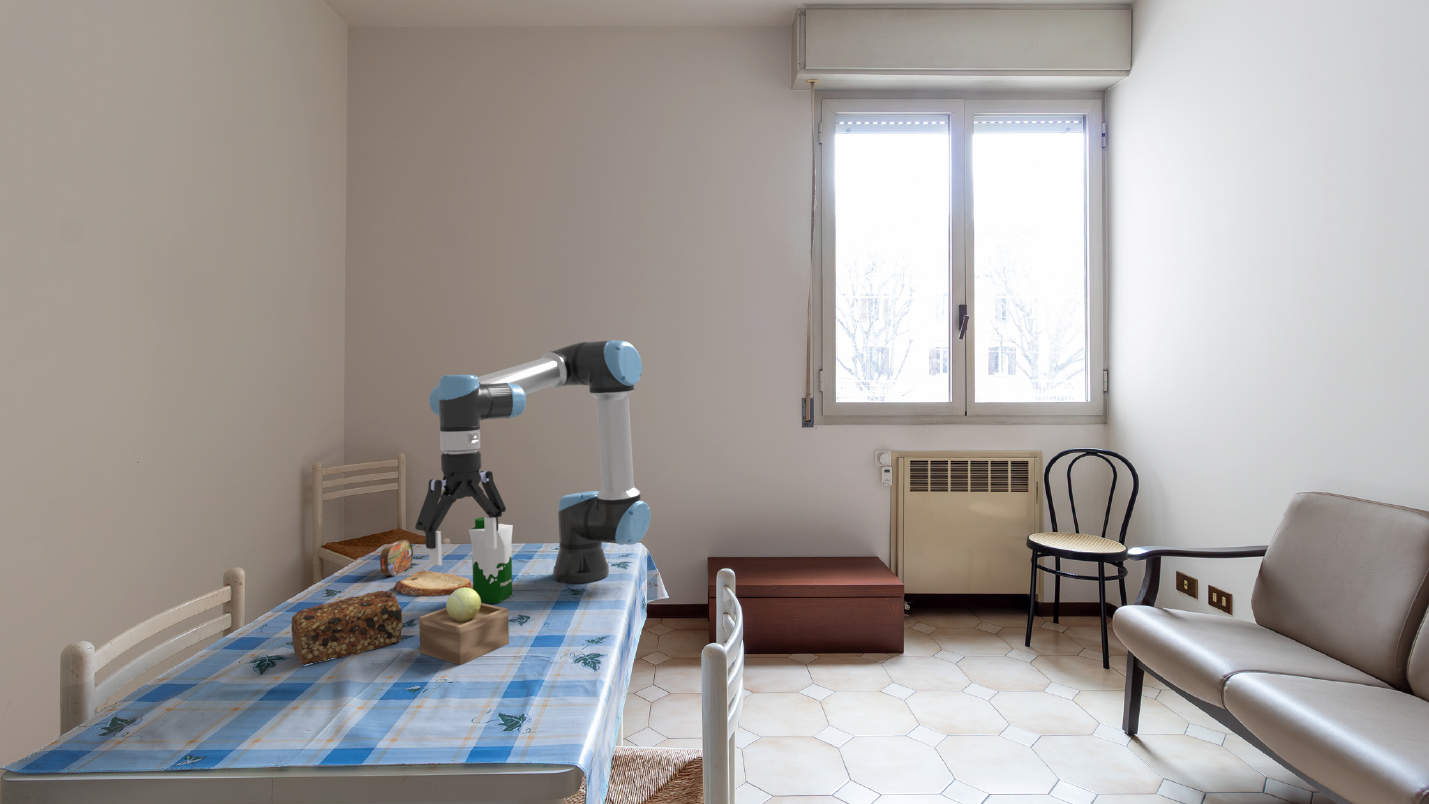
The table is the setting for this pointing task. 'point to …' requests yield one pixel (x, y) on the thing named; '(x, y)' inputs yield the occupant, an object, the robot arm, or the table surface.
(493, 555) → the milk carton
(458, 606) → the tennis ball
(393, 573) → the tin
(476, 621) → the wooden box
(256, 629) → the table surface
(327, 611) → the bread
